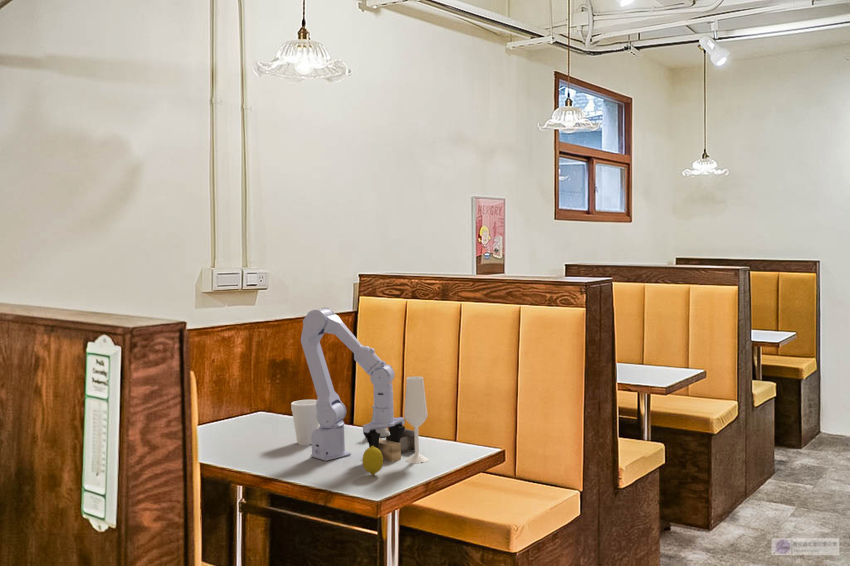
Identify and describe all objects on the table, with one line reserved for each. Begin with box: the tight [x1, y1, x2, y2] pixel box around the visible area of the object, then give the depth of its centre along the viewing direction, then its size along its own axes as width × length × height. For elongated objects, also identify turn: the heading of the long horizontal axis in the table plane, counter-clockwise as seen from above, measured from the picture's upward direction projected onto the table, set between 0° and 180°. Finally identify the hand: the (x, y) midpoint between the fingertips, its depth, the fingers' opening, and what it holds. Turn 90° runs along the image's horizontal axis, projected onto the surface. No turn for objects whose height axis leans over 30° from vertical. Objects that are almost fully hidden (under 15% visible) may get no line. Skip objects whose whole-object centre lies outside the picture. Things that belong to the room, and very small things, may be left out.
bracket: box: [385, 428, 415, 454], centre depth 237 cm, size 6×10×6 cm, turn 43°
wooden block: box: [368, 438, 402, 462], centre depth 229 cm, size 10×4×5 cm, turn 45°
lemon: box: [362, 446, 384, 476], centre depth 211 cm, size 6×6×8 cm
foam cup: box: [290, 399, 320, 446], centre depth 249 cm, size 10×9×13 cm
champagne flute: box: [403, 375, 429, 464], centre depth 224 cm, size 7×7×24 cm
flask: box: [370, 404, 390, 438], centre depth 256 cm, size 7×7×10 cm
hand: (384, 452), depth 229 cm, fingers open, 7 cm apart
